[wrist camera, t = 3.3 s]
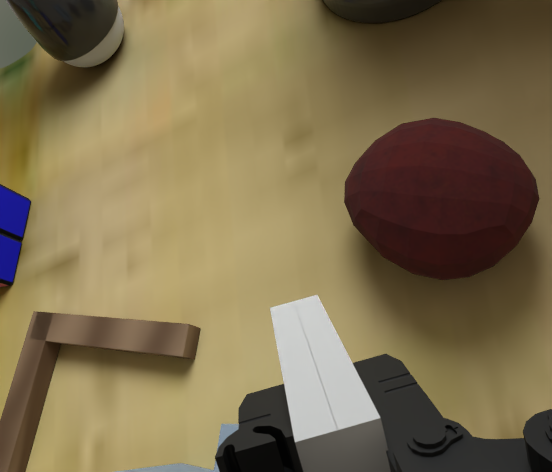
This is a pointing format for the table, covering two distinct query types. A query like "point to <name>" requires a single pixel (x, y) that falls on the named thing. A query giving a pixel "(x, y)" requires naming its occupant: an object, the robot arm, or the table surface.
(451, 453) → the robot arm
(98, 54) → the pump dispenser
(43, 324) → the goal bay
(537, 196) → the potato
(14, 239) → the puzzle cube
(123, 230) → the table surface
